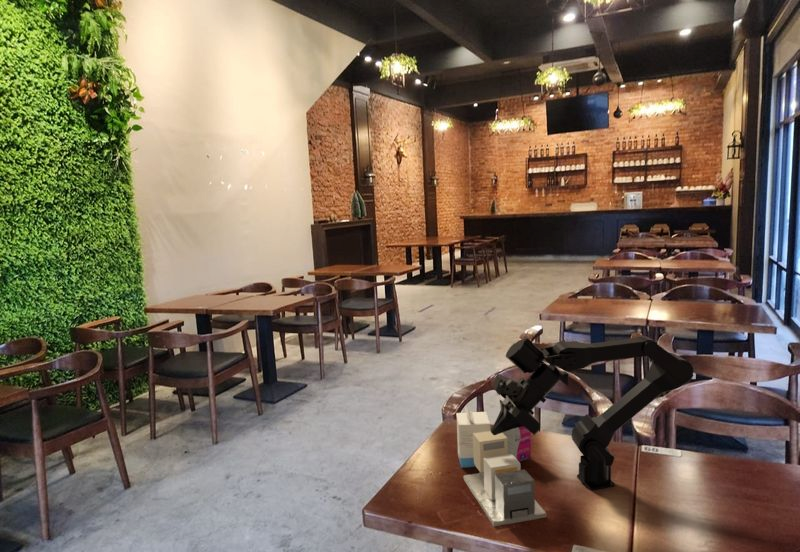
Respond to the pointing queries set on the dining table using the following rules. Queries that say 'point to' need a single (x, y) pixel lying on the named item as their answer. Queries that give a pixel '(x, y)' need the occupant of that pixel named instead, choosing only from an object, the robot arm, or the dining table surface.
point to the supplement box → (519, 443)
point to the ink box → (469, 434)
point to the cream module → (497, 470)
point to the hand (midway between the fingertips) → (492, 433)
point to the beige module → (488, 447)
